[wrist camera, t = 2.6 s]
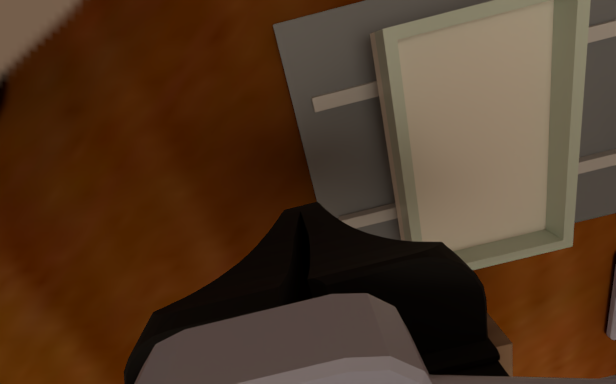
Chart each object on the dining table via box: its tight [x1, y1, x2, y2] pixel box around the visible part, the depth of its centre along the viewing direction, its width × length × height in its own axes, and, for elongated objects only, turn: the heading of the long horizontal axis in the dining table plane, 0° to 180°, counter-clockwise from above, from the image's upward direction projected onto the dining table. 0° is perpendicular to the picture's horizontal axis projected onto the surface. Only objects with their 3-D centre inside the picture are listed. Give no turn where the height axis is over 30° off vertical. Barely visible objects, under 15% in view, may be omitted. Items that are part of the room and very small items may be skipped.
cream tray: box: [370, 0, 591, 270], centre depth 16 cm, size 8×12×3 cm, turn 13°
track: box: [273, 0, 616, 240], centre depth 17 cm, size 22×15×2 cm
